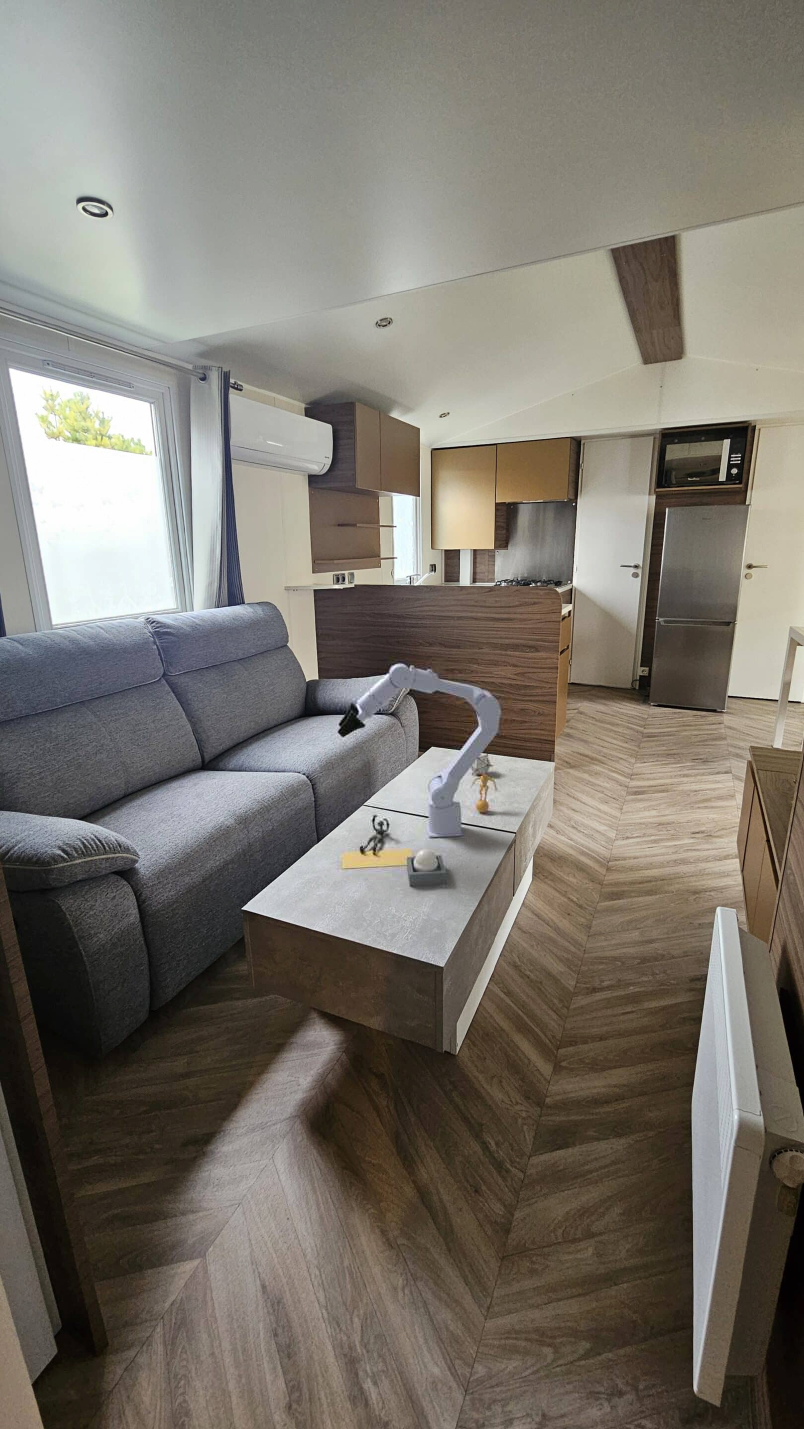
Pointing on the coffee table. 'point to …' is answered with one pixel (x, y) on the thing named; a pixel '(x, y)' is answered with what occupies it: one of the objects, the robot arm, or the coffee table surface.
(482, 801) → the figurine
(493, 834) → the coffee table surface
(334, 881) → the coffee table surface
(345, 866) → the yellow rectangular panel
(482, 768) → the grey spiky lattice polyhedron
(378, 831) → the zombie figurine
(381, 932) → the coffee table surface
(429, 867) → the popper dome
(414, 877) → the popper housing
